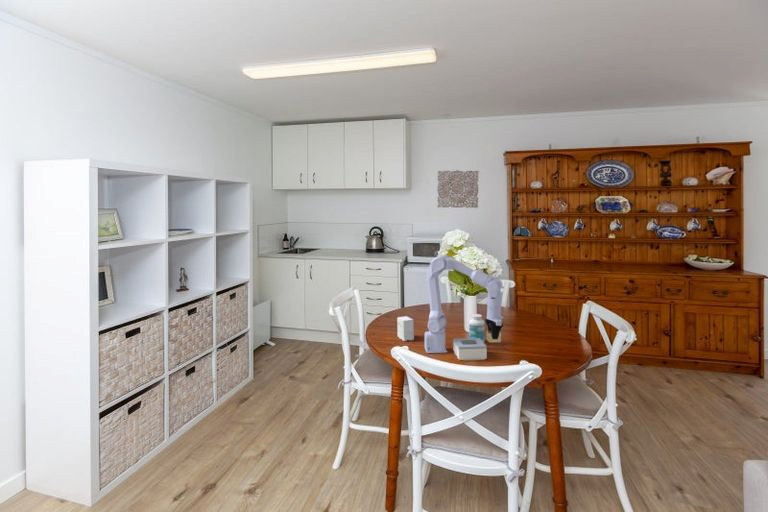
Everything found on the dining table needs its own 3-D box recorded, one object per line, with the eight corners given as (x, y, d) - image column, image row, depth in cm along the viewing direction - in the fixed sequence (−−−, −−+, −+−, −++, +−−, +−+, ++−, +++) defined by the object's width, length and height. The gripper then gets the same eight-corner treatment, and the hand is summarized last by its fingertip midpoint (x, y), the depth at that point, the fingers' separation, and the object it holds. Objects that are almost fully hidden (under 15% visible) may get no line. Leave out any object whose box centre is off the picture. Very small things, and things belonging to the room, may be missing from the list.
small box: (413, 340, 209) (413, 319, 208) (403, 341, 207) (403, 320, 206) (407, 335, 217) (407, 315, 216) (397, 337, 215) (397, 317, 214)
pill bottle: (465, 341, 207) (466, 314, 205) (478, 339, 209) (479, 312, 208) (474, 345, 200) (474, 317, 198) (487, 343, 202) (487, 316, 201)
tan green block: (489, 342, 179) (489, 333, 179) (486, 339, 183) (486, 330, 183) (500, 342, 180) (500, 333, 179) (497, 339, 184) (498, 330, 183)
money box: (458, 360, 180) (459, 347, 179) (453, 351, 192) (453, 338, 191) (486, 359, 180) (486, 346, 180) (479, 350, 192) (479, 337, 192)
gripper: (508, 310, 173) (508, 342, 174) (498, 302, 187) (497, 332, 189) (492, 310, 172) (491, 342, 174) (482, 303, 187) (481, 332, 188)
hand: (493, 337), depth 181 cm, fingers closed on tan green block, 4 cm apart
